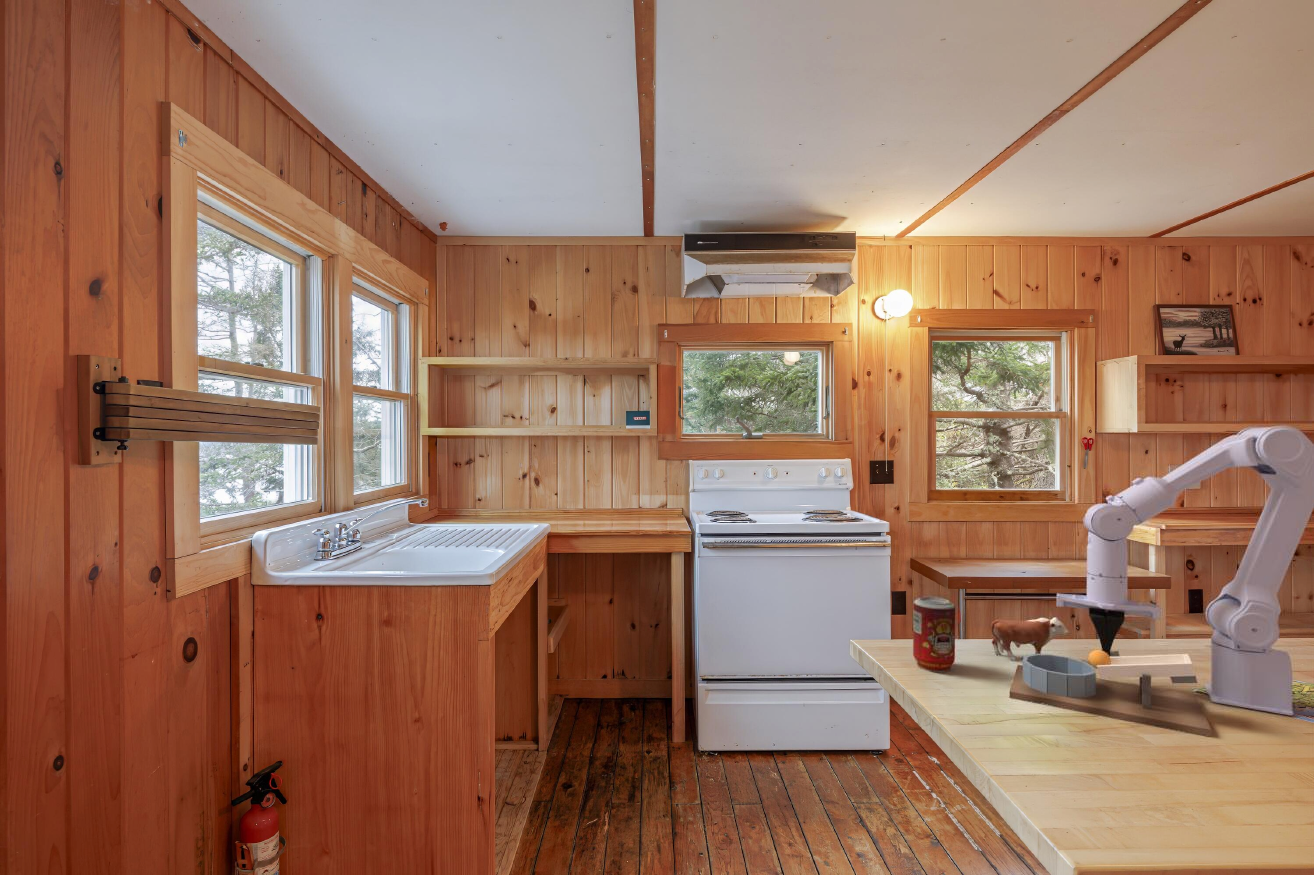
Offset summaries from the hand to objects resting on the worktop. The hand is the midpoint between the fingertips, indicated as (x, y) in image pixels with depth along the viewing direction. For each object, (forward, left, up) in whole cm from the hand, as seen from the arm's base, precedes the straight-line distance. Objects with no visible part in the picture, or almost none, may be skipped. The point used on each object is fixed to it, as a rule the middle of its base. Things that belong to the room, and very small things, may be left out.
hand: (1106, 654), depth 111 cm
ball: (+1, +8, +1) cm, 9 cm away
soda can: (+26, +7, -5) cm, 28 cm away
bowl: (+7, +8, -5) cm, 12 cm away
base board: (+1, +8, -5) cm, 10 cm away
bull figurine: (+12, -8, -5) cm, 15 cm away
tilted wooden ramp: (-5, +4, -1) cm, 7 cm away
